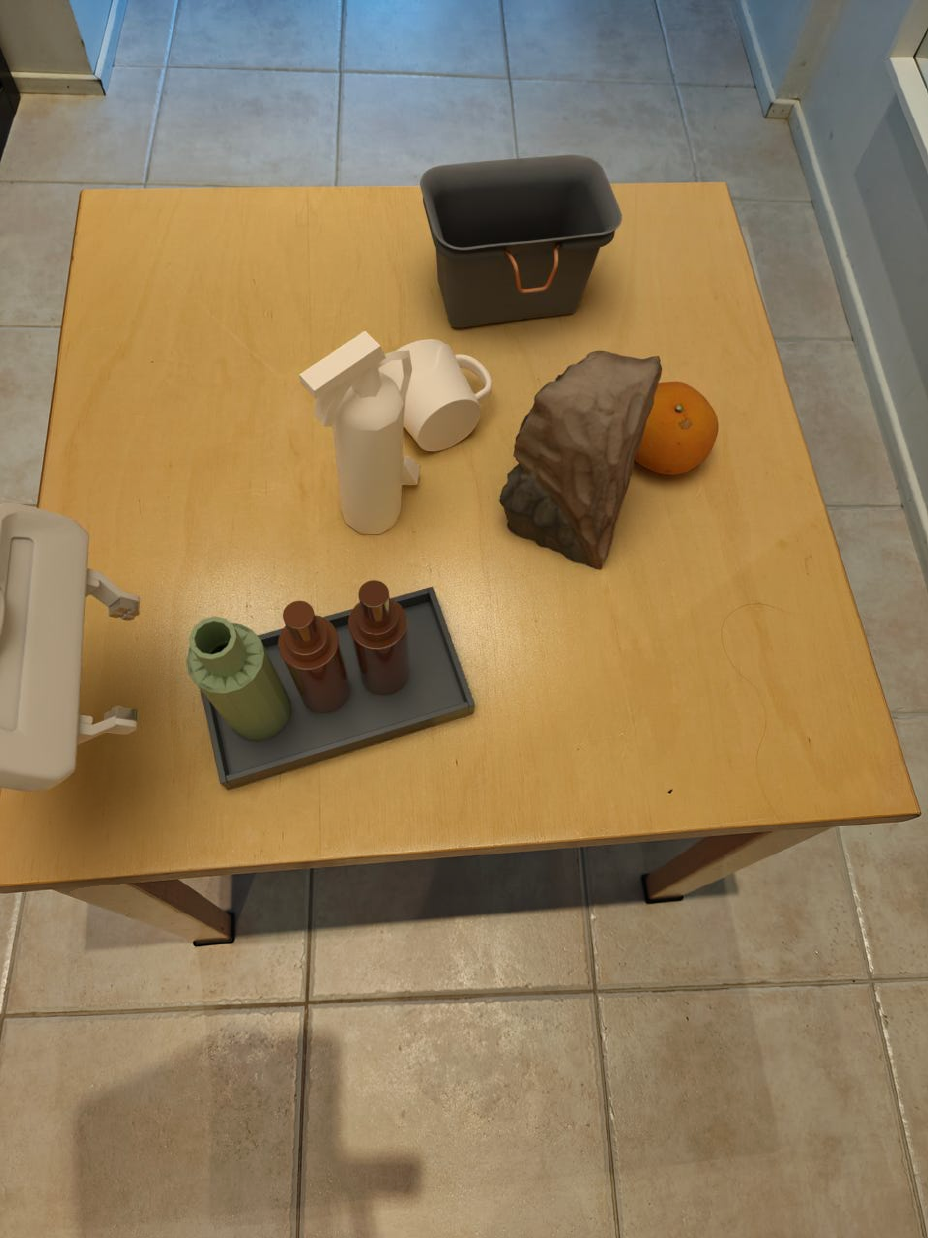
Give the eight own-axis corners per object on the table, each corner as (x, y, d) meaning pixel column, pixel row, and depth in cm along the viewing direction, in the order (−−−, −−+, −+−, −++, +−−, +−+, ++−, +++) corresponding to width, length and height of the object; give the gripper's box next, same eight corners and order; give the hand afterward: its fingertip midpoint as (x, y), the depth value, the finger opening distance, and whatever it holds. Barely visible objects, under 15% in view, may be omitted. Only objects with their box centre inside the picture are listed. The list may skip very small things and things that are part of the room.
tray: (227, 790, 73) (220, 784, 70) (200, 663, 78) (192, 653, 75) (473, 713, 77) (475, 705, 74) (432, 598, 82) (433, 586, 79)
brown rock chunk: (491, 529, 85) (509, 409, 67) (536, 444, 90) (563, 311, 72) (599, 574, 84) (647, 463, 65) (638, 485, 89) (693, 359, 70)
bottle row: (306, 720, 75) (273, 652, 59) (293, 673, 77) (259, 595, 61) (416, 687, 77) (413, 612, 61) (401, 642, 79) (395, 558, 63)
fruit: (629, 494, 88) (648, 450, 81) (604, 419, 92) (619, 372, 85) (716, 480, 89) (742, 436, 82) (687, 407, 94) (709, 359, 86)
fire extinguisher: (442, 498, 87) (448, 330, 64) (353, 557, 83) (326, 401, 60) (405, 458, 89) (398, 281, 66) (317, 514, 85) (277, 347, 62)
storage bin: (574, 250, 103) (595, 146, 90) (608, 339, 97) (636, 241, 84) (416, 270, 101) (414, 166, 88) (440, 362, 95) (443, 265, 82)
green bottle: (234, 748, 73) (179, 685, 57) (221, 691, 76) (165, 613, 59) (297, 729, 74) (260, 661, 58) (282, 673, 77) (243, 592, 60)
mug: (411, 463, 88) (410, 418, 81) (375, 404, 92) (371, 355, 84) (503, 425, 91) (510, 378, 84) (465, 369, 94) (468, 319, 87)
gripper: (-77, 766, 44) (155, 786, 54) (-35, 469, 52) (158, 534, 62) (-116, 796, 47) (109, 809, 57) (-70, 513, 56) (118, 567, 66)
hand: (135, 663), depth 60 cm, fingers open, 8 cm apart
